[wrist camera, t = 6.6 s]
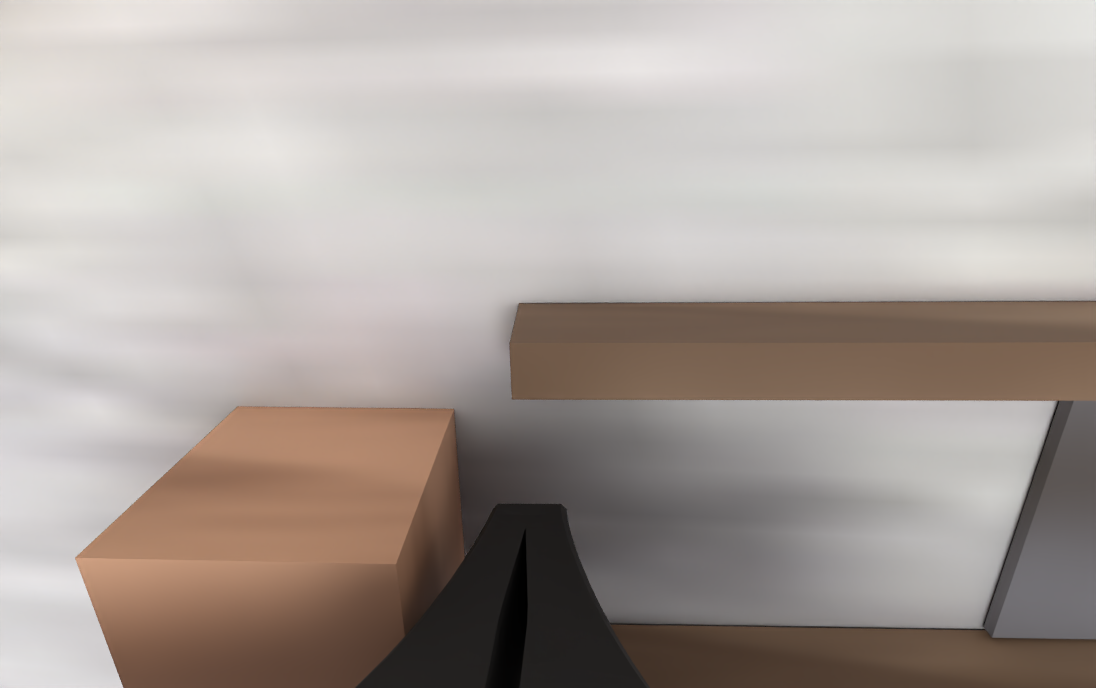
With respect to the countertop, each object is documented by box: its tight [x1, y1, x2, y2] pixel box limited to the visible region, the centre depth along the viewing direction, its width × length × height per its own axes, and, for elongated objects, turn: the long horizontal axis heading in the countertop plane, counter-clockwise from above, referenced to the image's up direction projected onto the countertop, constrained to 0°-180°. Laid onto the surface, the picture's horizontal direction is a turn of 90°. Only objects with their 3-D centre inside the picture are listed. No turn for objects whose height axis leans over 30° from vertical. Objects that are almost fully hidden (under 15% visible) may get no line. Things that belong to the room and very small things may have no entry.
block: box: [75, 407, 465, 688], centre depth 11 cm, size 4×4×4 cm
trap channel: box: [510, 301, 1096, 688], centre depth 12 cm, size 9×16×2 cm, turn 91°
